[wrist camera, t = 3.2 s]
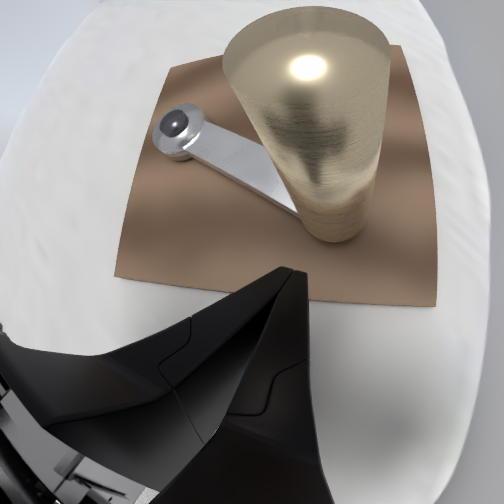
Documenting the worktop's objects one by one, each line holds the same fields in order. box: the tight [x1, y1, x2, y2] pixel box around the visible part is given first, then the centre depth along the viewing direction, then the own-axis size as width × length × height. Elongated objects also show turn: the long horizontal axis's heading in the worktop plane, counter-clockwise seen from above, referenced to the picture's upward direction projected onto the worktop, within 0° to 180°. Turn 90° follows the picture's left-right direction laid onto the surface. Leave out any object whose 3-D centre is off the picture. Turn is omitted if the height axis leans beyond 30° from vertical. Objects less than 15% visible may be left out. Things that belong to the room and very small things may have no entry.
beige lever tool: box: [152, 6, 391, 242], centre depth 12 cm, size 16×4×11 cm, turn 53°
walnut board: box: [114, 45, 438, 307], centre depth 18 cm, size 20×21×1 cm
